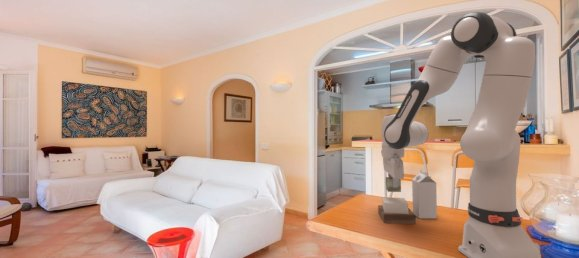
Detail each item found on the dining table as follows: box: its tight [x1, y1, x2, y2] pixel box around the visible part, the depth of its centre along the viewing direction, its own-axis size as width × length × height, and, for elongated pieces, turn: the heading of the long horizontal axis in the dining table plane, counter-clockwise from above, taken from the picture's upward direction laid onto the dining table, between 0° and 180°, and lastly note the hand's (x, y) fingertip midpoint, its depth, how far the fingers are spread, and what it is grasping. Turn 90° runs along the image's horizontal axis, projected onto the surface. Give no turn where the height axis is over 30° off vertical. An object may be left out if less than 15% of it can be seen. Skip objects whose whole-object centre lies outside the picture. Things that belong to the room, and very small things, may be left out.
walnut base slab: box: [377, 204, 417, 225], centre depth 109 cm, size 12×12×4 cm
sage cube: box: [385, 176, 402, 193], centre depth 110 cm, size 5×5×5 cm
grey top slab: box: [381, 196, 409, 214], centre depth 109 cm, size 9×9×4 cm
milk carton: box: [411, 169, 438, 220], centre depth 111 cm, size 7×7×19 cm
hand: (393, 185), depth 110 cm, fingers closed on sage cube, 5 cm apart
